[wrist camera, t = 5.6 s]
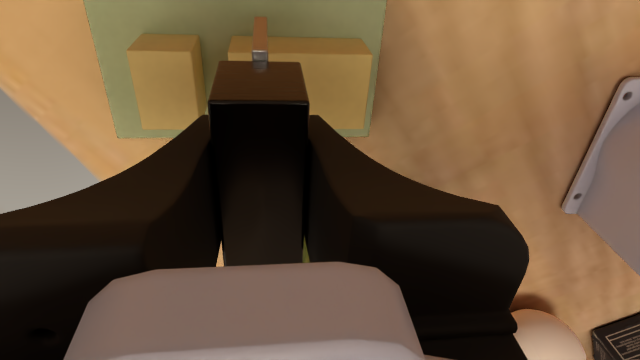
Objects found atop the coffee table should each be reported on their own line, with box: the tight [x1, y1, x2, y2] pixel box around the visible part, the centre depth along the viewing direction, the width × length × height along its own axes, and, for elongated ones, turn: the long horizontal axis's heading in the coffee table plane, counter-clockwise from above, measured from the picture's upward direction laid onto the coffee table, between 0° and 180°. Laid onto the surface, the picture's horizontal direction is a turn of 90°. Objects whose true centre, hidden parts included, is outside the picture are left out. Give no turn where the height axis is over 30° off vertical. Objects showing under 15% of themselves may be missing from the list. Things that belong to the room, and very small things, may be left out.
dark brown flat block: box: [207, 17, 310, 267], centre depth 12 cm, size 6×2×6 cm, turn 177°
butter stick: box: [228, 36, 373, 129], centre depth 19 cm, size 4×6×2 cm, turn 87°
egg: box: [511, 309, 586, 360], centre depth 33 cm, size 6×6×8 cm
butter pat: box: [126, 34, 207, 130], centre depth 18 cm, size 4×2×2 cm
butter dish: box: [83, 0, 387, 138], centre depth 20 cm, size 7×13×1 cm, turn 87°
